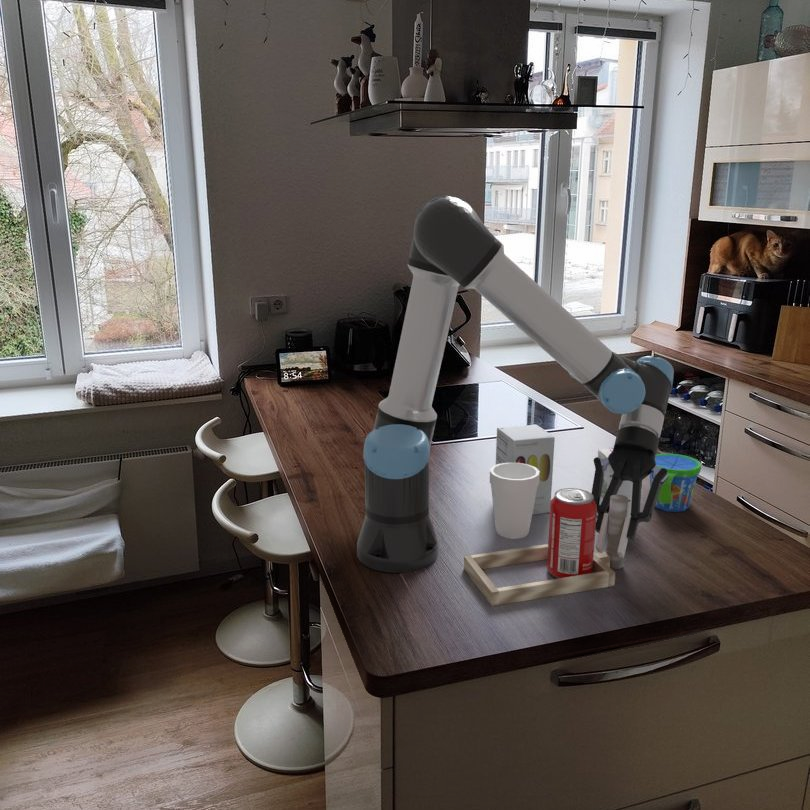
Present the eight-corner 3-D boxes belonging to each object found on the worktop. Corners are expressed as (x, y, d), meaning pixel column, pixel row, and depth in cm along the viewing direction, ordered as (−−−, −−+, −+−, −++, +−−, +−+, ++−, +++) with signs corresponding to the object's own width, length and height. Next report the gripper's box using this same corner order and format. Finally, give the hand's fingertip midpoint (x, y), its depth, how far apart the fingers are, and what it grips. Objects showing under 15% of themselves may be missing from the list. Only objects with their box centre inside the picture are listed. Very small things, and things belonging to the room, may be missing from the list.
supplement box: (509, 518, 158) (512, 440, 153) (492, 501, 167) (494, 426, 162) (552, 512, 160) (556, 436, 156) (533, 496, 169) (536, 422, 164)
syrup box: (631, 523, 155) (637, 456, 151) (603, 526, 154) (608, 457, 150) (619, 512, 160) (624, 446, 156) (592, 514, 160) (597, 448, 155)
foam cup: (503, 547, 146) (505, 483, 142) (479, 527, 154) (481, 466, 150) (546, 537, 149) (549, 475, 146) (520, 519, 157) (523, 459, 154)
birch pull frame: (491, 606, 125) (493, 533, 121) (463, 568, 137) (464, 501, 133) (641, 581, 132) (647, 511, 129) (602, 548, 144) (607, 483, 141)
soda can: (558, 587, 131) (563, 506, 127) (539, 566, 138) (543, 488, 134) (600, 581, 133) (606, 501, 129) (579, 560, 140) (584, 484, 136)
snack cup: (657, 489, 172) (661, 446, 169) (705, 499, 166) (710, 455, 163) (632, 513, 160) (636, 467, 157) (684, 525, 154) (689, 478, 151)
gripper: (685, 450, 142) (659, 570, 132) (598, 437, 149) (568, 550, 140) (682, 430, 136) (655, 555, 127) (592, 418, 143) (560, 535, 134)
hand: (609, 552), depth 133 cm, fingers closed on birch pull frame, 3 cm apart
